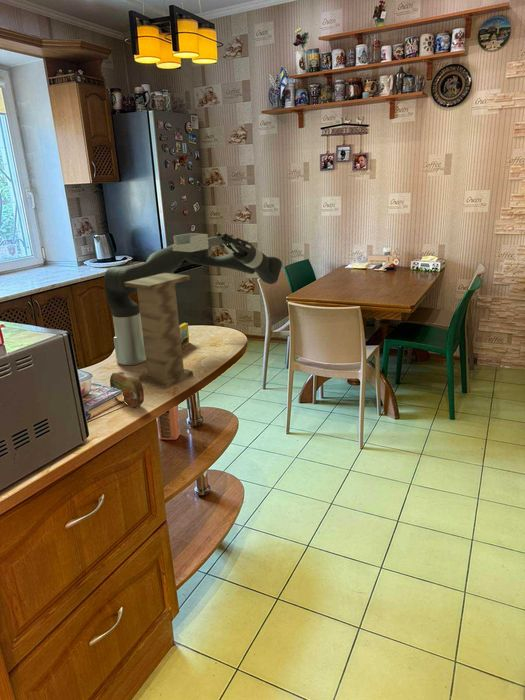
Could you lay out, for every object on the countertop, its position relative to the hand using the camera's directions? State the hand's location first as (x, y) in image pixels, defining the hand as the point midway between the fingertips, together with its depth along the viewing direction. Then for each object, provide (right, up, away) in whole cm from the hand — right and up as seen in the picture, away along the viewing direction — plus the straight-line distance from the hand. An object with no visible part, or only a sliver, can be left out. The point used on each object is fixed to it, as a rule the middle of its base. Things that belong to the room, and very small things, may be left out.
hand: (219, 235), depth 167 cm
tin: (-24, -54, -25) cm, 64 cm away
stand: (-16, -48, -9) cm, 51 cm away
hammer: (-4, -4, -4) cm, 7 cm away
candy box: (-17, -39, +17) cm, 46 cm away
